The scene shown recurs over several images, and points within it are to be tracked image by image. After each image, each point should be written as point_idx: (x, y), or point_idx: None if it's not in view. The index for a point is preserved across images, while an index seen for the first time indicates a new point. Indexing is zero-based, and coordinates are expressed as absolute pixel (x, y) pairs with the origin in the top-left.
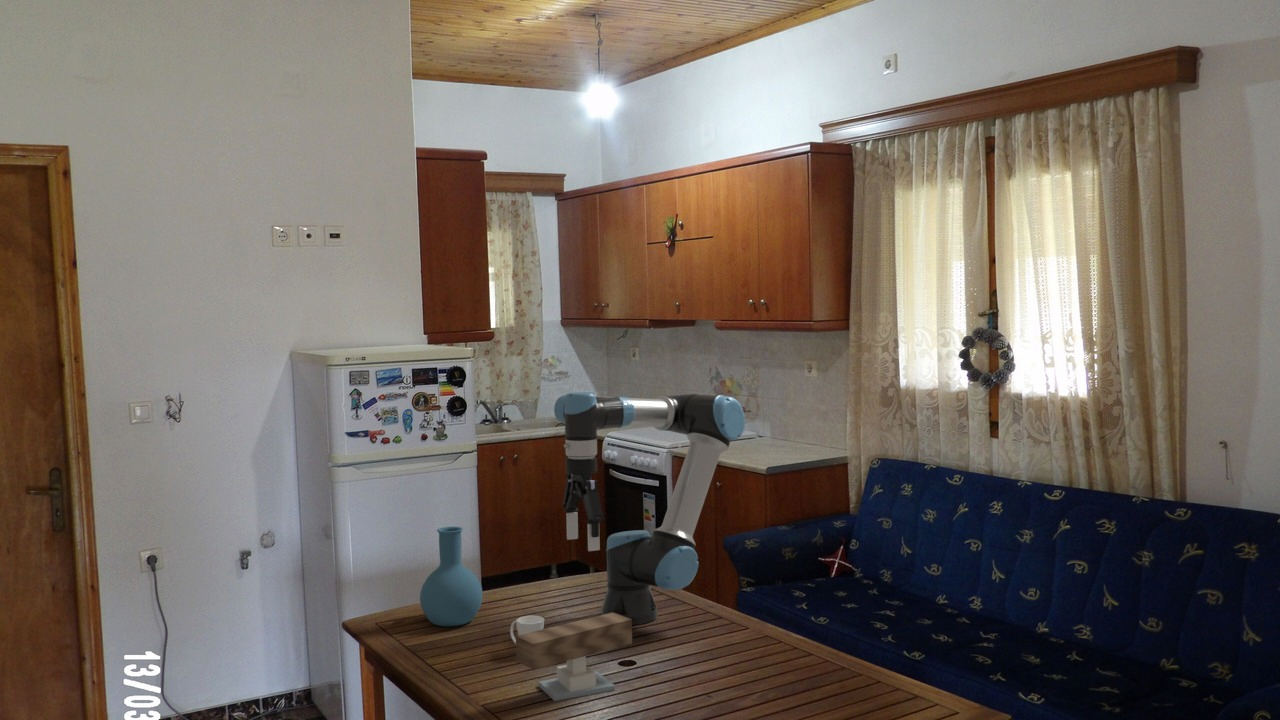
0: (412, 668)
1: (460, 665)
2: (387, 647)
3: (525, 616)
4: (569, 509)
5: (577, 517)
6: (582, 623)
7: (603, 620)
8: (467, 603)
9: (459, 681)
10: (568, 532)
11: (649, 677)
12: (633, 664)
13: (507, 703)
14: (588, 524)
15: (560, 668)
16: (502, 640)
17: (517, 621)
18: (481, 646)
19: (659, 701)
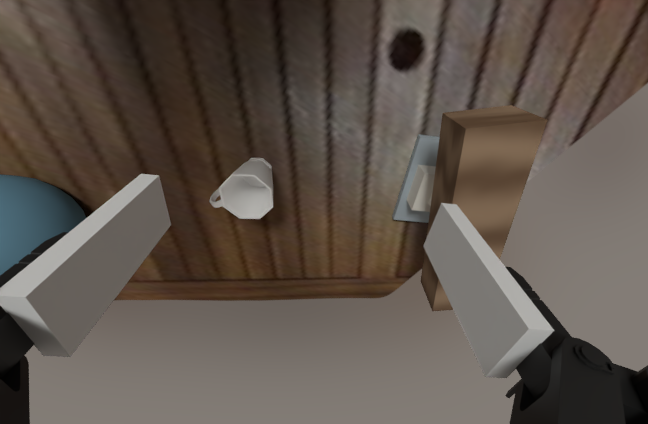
0: (250, 293)
1: (266, 257)
2: (163, 294)
3: (221, 196)
4: (1, 370)
5: (66, 262)
6: (470, 219)
7: (492, 178)
8: (65, 225)
9: (318, 273)
10: (151, 246)
11: (495, 59)
12: (422, 44)
13: (412, 259)
14: (498, 370)
15: (421, 209)
16: (181, 182)
17: (246, 218)
18: (200, 216)
19: (577, 109)
